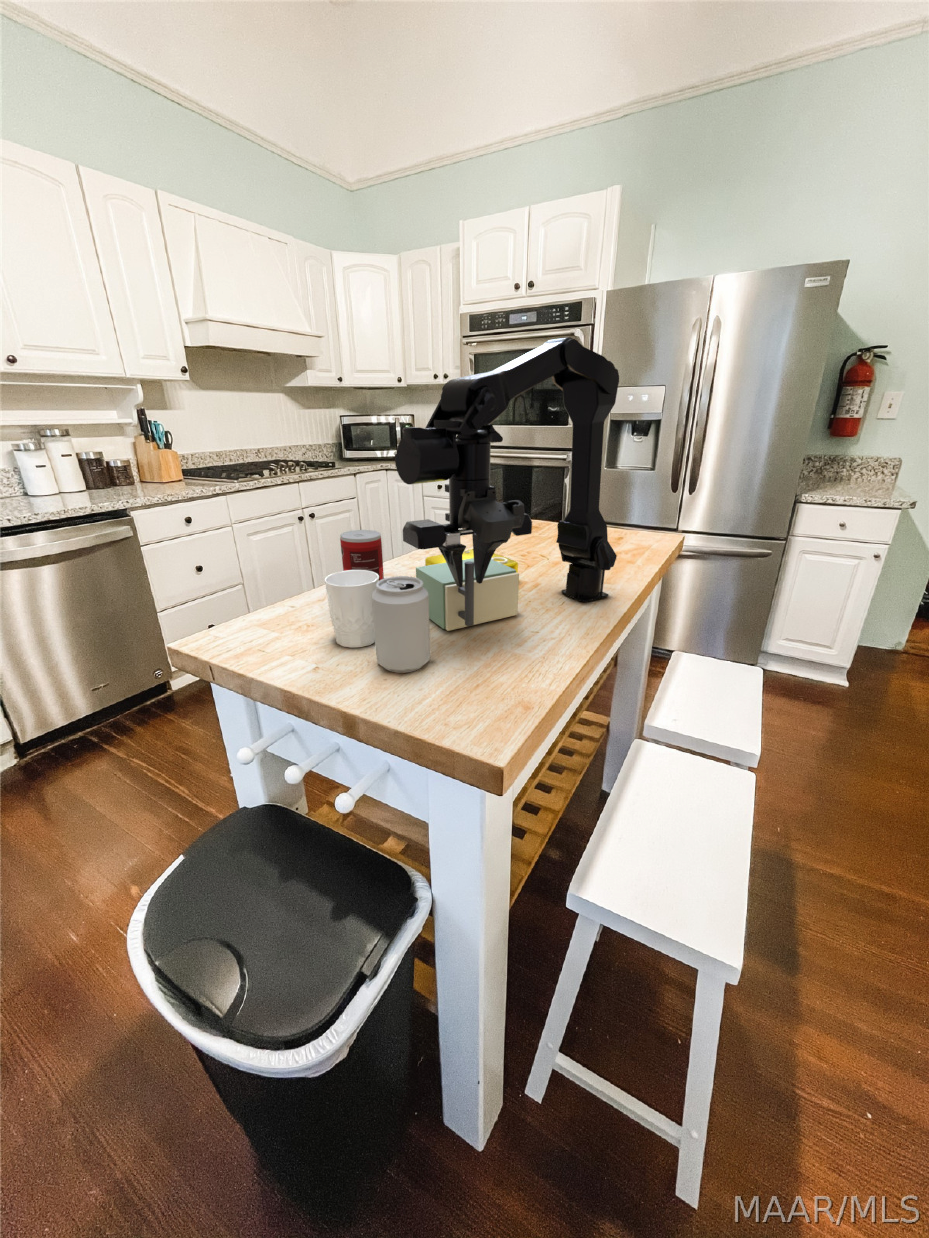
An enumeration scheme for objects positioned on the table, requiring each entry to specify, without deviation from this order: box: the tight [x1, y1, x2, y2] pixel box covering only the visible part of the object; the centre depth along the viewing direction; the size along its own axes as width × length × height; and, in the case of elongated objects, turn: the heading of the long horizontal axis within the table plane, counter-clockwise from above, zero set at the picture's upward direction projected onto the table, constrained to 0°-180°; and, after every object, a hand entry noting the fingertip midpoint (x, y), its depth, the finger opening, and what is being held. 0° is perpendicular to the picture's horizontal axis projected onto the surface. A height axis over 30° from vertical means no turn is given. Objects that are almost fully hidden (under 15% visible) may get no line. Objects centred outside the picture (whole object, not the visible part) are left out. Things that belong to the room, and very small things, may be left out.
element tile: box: [424, 548, 519, 573], centre depth 103 cm, size 15×15×5 cm
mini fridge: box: [415, 558, 516, 630], centre depth 86 cm, size 14×10×8 cm
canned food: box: [339, 529, 385, 581], centre depth 97 cm, size 8×8×11 cm
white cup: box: [324, 570, 379, 649], centre depth 76 cm, size 8×8×10 cm
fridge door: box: [445, 561, 520, 632], centre depth 79 cm, size 14×4×12 cm, turn 120°
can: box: [372, 575, 431, 674], centre depth 68 cm, size 8×8×12 cm
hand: (469, 584), depth 75 cm, fingers open, 3 cm apart
